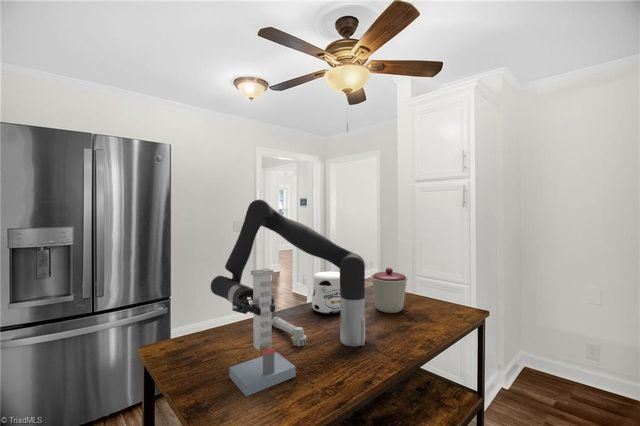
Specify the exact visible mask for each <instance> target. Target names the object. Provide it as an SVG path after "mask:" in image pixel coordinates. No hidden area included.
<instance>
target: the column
mask: <svg viewBox="0 0 640 426" xmlns="http://www.w3.org/2000/svg"><path fill="white" fill-rule="evenodd" d="M274 273H275V272H274V270H273V269H271V268H261V269H254V270H250V276H253V277H252V283H253V284H252V286H253V287H252V289H253V304H254V305H256V306H258V307H260V308H261V315H259V316H258V315H256V314H254V313H252V315H253V316H252V317H253V319H252V321H253V323H252V325H253V330H252V331H253V340H252V341H253V348H254V349H255V350H257V351H258V352H262V351H264V350H267V349H270V348H273V347H272V345H273V344H272V342H273V341H272V334H273V333H272V326H273V325H272V318H273V316H272V313H273V312H271V295H272V275H274Z"/></svg>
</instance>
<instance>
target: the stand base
mask: <svg viewBox="0 0 640 426" xmlns="http://www.w3.org/2000/svg"><path fill="white" fill-rule="evenodd" d="M261 353H262V356H259V357H256V358H253V359H250V360H247V361H244V362H241V363H238V364H235V365H232V366H229V372H228V373H229V379H231V380H232V382H233V384H235V385H236V387H237V388H238V389H239V390H240V391H241V392H242V393H243V395H244V396H245V397H249V396H251V395H254V394H255V393H259V392H261V391H263V390H266V389H268V388H271V387H273V386H275V385H278V384H281V383H284V382H286V381H288V380H290V379H293V378H295V377H296V374H297V373H296V371H297V368H296V366H295V365H294V364H293V363H291V361H289V360H288V359H286V358H285V357H284V356H283V355H281V354H280V353H278V352H277V351H276V350H275V349H274V348H273V347H272V348H269V349H266V350H263V351H261Z"/></svg>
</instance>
